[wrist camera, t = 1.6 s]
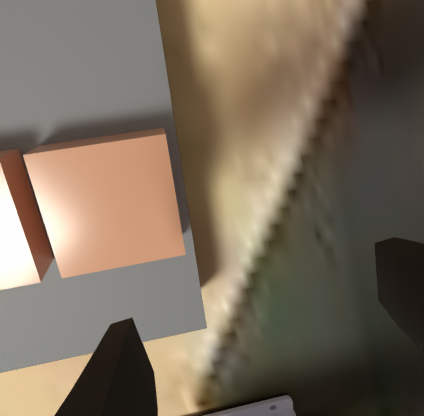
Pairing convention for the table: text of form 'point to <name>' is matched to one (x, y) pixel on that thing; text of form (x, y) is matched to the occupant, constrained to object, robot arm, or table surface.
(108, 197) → the tile
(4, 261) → the tile
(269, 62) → the table surface
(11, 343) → the grey flat block
